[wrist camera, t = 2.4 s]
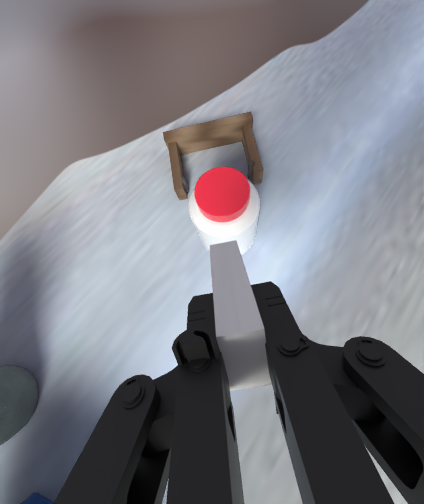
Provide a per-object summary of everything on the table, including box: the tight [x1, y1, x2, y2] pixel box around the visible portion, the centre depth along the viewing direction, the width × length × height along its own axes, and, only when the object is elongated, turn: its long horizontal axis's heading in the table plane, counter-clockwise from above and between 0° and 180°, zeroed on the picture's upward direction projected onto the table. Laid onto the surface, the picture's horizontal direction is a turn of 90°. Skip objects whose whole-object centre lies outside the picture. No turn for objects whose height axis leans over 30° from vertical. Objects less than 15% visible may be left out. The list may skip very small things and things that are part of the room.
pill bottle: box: [189, 167, 260, 255], centre depth 29 cm, size 8×8×11 cm
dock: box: [163, 112, 263, 200], centre depth 35 cm, size 13×9×4 cm
